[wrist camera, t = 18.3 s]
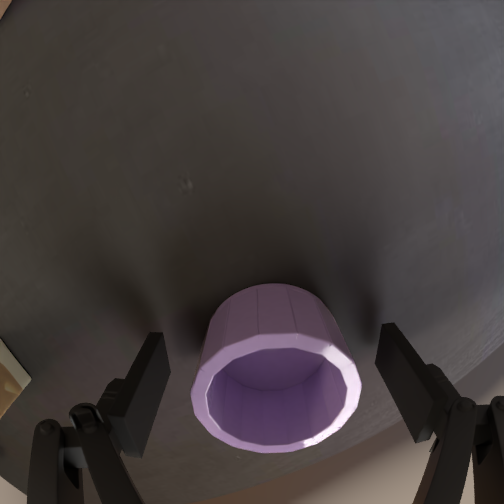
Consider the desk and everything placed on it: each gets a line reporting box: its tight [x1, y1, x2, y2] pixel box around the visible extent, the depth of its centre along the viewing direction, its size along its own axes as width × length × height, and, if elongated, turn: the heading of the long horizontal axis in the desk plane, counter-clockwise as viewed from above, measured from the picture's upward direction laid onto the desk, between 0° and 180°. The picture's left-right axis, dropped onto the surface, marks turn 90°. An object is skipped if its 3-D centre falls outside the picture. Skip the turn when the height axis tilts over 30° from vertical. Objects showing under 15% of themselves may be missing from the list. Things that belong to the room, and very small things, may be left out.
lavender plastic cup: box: [190, 283, 362, 453], centre depth 15 cm, size 7×7×5 cm
